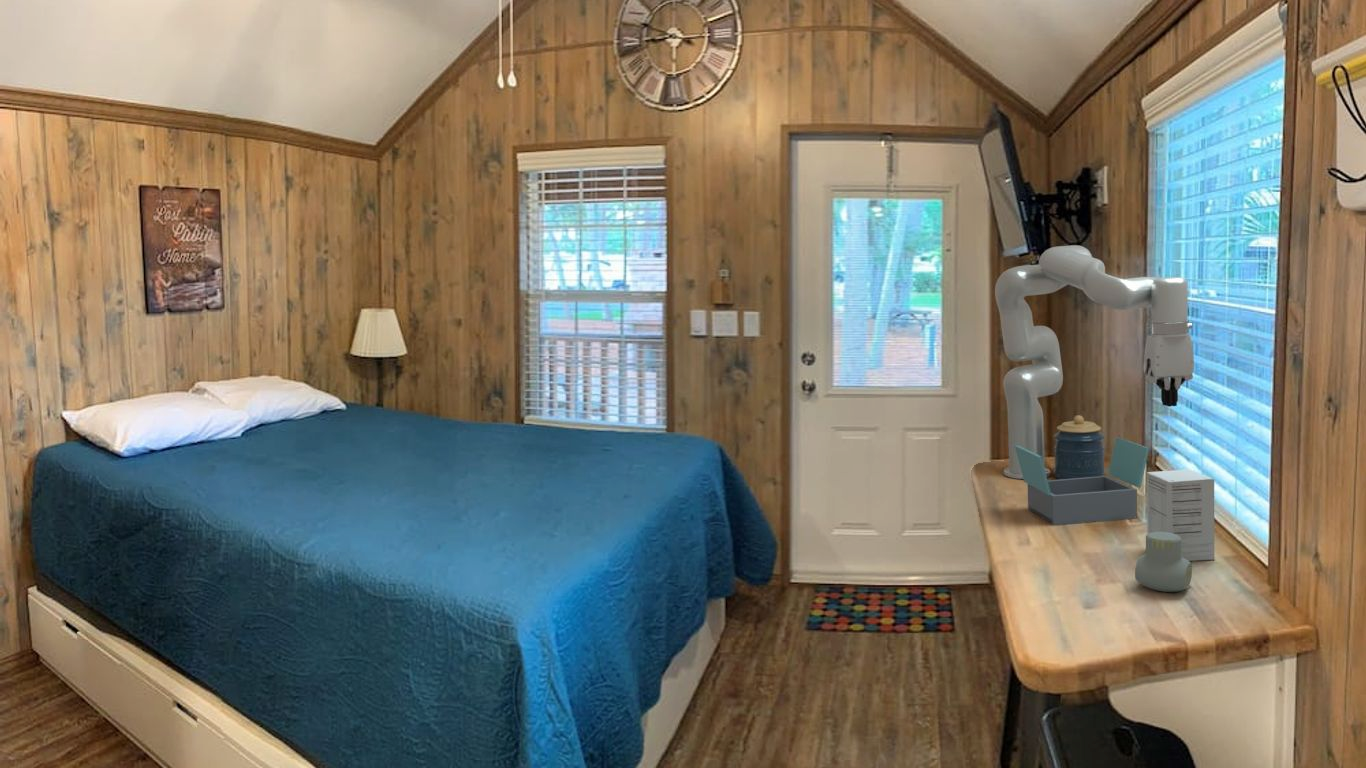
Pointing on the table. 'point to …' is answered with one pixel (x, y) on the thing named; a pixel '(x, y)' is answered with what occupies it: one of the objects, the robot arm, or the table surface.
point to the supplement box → (1183, 510)
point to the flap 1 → (1033, 469)
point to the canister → (1079, 450)
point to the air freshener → (1163, 564)
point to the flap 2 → (1128, 461)
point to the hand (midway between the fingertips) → (1169, 405)
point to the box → (1084, 500)
